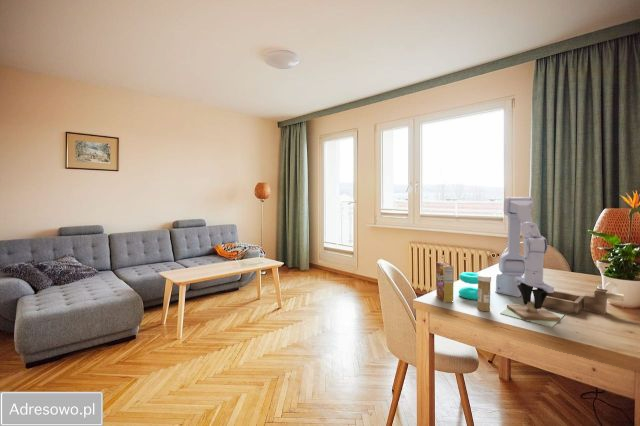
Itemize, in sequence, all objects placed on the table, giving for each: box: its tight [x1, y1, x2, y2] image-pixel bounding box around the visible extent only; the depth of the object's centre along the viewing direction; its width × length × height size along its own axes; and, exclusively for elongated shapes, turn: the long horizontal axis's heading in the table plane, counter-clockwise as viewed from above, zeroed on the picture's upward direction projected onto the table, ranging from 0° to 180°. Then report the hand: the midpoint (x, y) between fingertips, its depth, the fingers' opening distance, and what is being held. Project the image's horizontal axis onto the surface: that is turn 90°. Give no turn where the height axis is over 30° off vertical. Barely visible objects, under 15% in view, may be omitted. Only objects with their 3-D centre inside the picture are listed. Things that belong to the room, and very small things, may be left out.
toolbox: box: [542, 290, 585, 316], centre depth 124 cm, size 12×12×4 cm
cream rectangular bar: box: [593, 289, 625, 302], centre depth 117 cm, size 8×2×2 cm, turn 41°
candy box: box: [435, 261, 454, 303], centre depth 133 cm, size 9×4×15 cm, turn 179°
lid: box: [506, 301, 561, 322], centre depth 116 cm, size 12×12×4 cm
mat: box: [499, 303, 565, 328], centre depth 116 cm, size 16×16×1 cm
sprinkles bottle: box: [476, 273, 492, 312], centre depth 121 cm, size 5×5×14 cm
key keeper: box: [583, 287, 608, 315], centre depth 120 cm, size 6×4×8 cm, turn 41°
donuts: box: [458, 271, 480, 301], centre depth 137 cm, size 10×10×10 cm
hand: (532, 306), depth 116 cm, fingers open, 4 cm apart
